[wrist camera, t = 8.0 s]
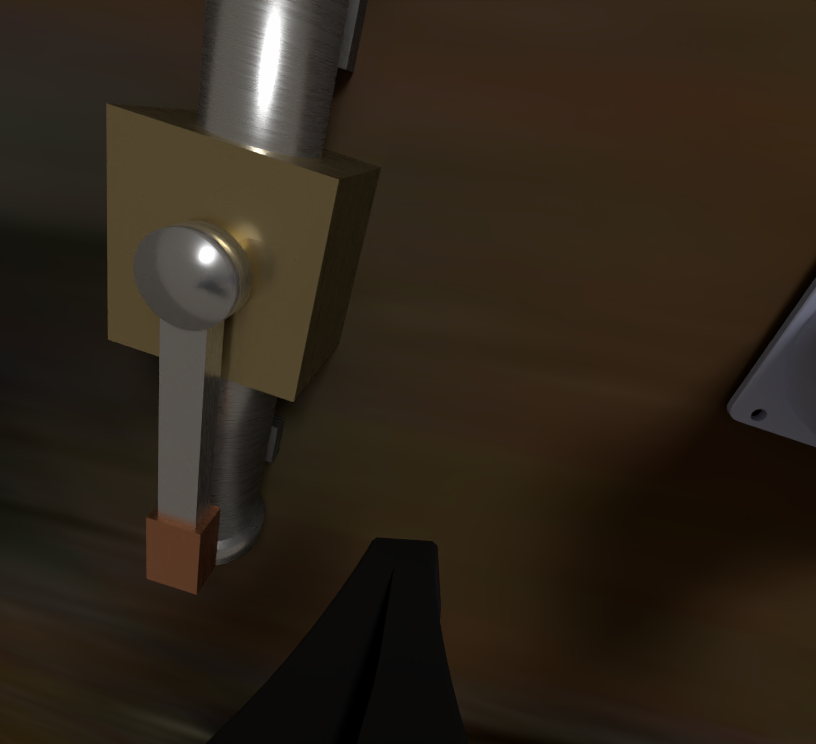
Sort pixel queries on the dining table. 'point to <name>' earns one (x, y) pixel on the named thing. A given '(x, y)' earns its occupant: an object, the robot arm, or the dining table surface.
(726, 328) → the dining table surface
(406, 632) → the robot arm
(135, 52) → the dining table surface
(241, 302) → the lever
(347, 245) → the valve pipe
